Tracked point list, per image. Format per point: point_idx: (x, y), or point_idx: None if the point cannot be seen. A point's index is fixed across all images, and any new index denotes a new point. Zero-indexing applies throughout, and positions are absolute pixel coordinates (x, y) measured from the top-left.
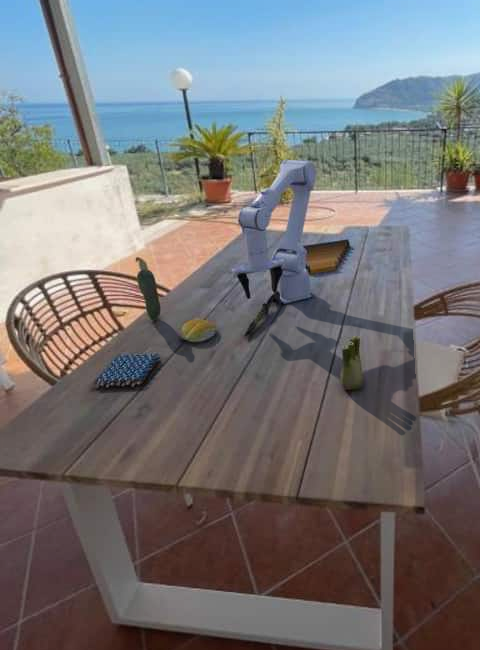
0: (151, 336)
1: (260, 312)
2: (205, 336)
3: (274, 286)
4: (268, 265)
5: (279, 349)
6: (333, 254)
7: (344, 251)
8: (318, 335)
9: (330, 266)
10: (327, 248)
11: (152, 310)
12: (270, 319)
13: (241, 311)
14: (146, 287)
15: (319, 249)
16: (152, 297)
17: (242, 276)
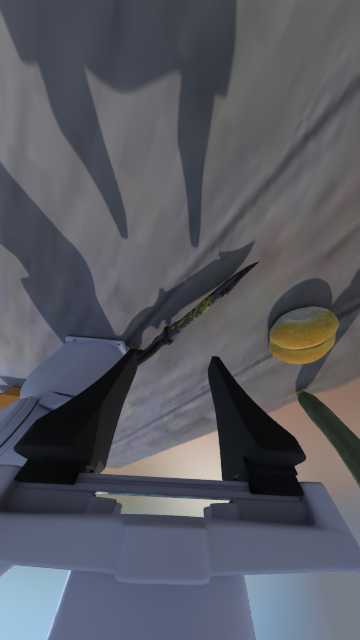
0: (336, 362)
1: (186, 322)
2: (308, 312)
3: (126, 366)
4: (78, 567)
5: (214, 132)
6: None
7: None
8: (71, 128)
9: (12, 395)
10: None
11: (326, 407)
12: (168, 307)
13: (199, 356)
14: None
15: None
16: (349, 436)
17: (271, 473)
